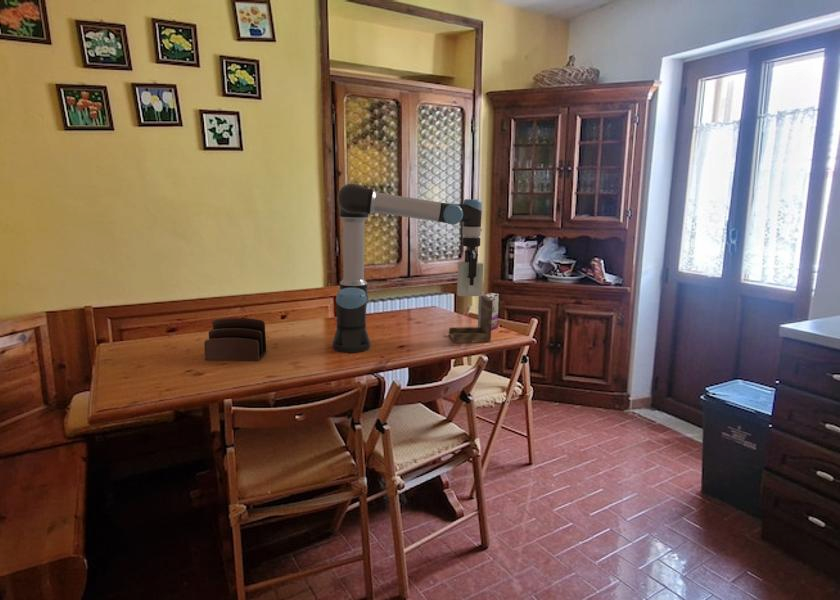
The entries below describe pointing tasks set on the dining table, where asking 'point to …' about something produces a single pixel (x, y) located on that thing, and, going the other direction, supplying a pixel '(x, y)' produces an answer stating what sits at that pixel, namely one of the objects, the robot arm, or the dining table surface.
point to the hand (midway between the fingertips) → (469, 291)
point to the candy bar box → (495, 300)
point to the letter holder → (236, 340)
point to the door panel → (463, 280)
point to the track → (476, 332)
